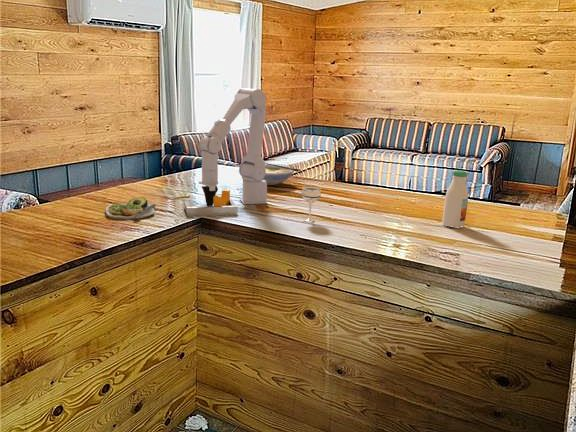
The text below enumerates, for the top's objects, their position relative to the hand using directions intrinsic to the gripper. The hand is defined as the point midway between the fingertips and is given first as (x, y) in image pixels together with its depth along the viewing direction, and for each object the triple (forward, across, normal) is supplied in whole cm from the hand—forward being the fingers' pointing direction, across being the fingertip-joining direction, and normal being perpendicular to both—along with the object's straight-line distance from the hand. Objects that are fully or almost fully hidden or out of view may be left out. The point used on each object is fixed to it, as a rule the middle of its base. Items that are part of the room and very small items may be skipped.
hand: (209, 205), depth 195 cm
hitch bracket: (+2, +2, 0) cm, 2 cm away
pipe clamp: (+2, 0, +4) cm, 4 cm away
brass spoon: (+2, -20, -9) cm, 22 cm away
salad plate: (+2, +1, -28) cm, 28 cm away
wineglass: (+2, +19, +33) cm, 38 cm away
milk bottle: (+2, +32, +83) cm, 89 cm away
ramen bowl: (+2, -42, +33) cm, 53 cm away
